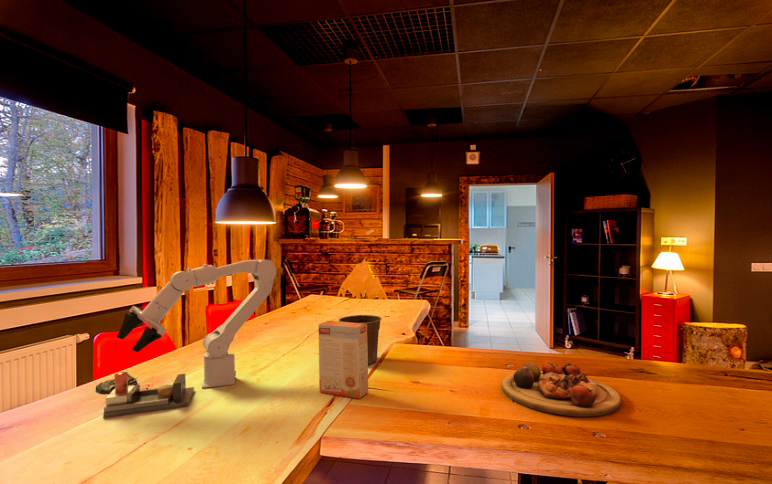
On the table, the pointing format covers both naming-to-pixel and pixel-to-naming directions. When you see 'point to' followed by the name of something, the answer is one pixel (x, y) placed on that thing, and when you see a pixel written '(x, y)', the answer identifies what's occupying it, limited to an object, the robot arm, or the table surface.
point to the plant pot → (368, 332)
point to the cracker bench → (154, 400)
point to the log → (112, 385)
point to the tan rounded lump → (165, 392)
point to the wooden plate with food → (560, 391)
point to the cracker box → (343, 359)
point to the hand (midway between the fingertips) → (127, 344)
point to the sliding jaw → (122, 391)
